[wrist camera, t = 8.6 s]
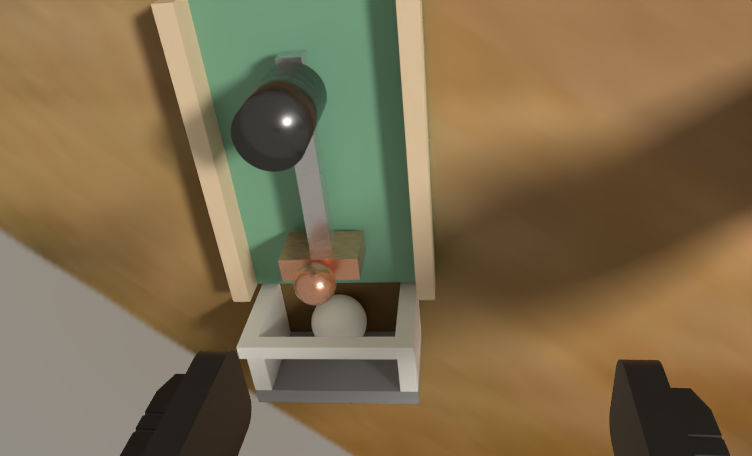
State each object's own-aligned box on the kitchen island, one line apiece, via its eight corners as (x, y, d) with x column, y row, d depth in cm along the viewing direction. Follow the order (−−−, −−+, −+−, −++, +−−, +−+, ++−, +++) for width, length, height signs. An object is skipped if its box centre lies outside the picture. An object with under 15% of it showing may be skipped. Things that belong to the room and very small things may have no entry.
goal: (417, 278, 43) (413, 347, 38) (421, 342, 47) (418, 415, 41) (263, 280, 45) (236, 347, 39) (278, 343, 48) (255, 412, 42)
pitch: (420, -28, 32) (418, -17, 30) (435, 272, 43) (434, 300, 40) (172, -8, 34) (150, 4, 32) (245, 275, 45) (233, 301, 42)
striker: (340, 43, 33) (315, 93, 27) (366, 256, 41) (351, 335, 34) (252, 49, 34) (207, 99, 27) (294, 258, 41) (266, 335, 35)
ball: (367, 362, 43) (372, 319, 46) (360, 325, 41) (366, 282, 44) (312, 361, 44) (320, 319, 47) (302, 325, 41) (311, 283, 44)
